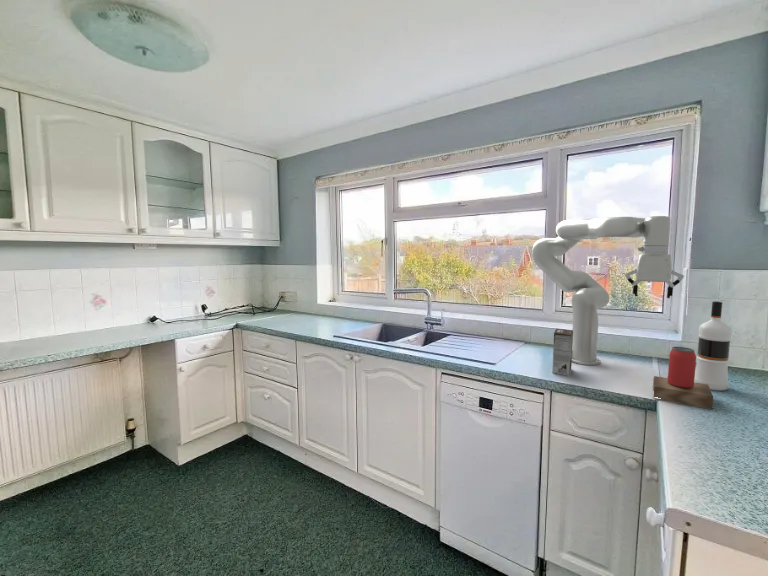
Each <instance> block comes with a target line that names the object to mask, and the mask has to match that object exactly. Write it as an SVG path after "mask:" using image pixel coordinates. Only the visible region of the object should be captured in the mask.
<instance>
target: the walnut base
mask: <svg viewBox="0 0 768 576" xmlns="http://www.w3.org/2000/svg"><path fill="white" fill-rule="evenodd" d="M667 380H668V377H663V376H657V375H654V376H653V383H652V384H653V385H652V388H653V389H652V390H653V391H654V394H653V398H654V397H658V398H661V399H663V400H662V401H665V400H666V401H667V402H671V403H676V404H682V405H686V406H691V407H697V408H703V409H708V410H713V407H714V406H713V405H714V402H713V401H714V395H713V393H712V390H710V388H709V386H708V384H701V383H695V382H694V386H693V387H692V388H680V387H676V386H673V385H671V384H669V383H668V381H667ZM666 401H665V402H666Z"/></svg>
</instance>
